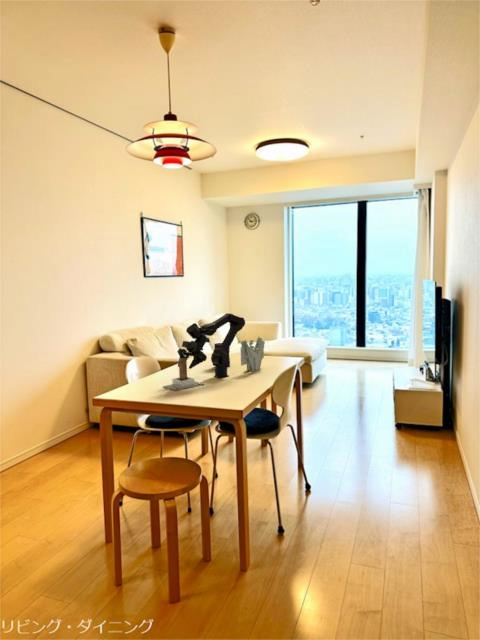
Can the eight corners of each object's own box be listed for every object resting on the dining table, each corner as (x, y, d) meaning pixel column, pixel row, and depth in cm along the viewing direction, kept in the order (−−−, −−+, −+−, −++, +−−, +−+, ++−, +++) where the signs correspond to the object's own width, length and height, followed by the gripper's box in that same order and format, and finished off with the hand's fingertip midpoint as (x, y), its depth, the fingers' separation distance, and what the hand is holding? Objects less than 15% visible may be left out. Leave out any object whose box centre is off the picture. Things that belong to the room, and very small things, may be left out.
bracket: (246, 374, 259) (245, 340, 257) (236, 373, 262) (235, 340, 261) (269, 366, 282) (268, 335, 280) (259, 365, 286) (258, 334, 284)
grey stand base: (191, 381, 246) (190, 374, 246) (203, 384, 237) (203, 377, 236) (163, 387, 234) (162, 379, 234) (175, 391, 225) (174, 383, 225)
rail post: (184, 383, 238) (183, 358, 237) (189, 384, 236) (187, 358, 234) (178, 385, 235) (177, 359, 234) (183, 386, 233) (182, 359, 231)
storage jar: (212, 368, 282) (211, 344, 281) (217, 365, 292) (217, 342, 290) (227, 368, 280) (226, 345, 278) (232, 365, 289) (231, 342, 288)
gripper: (179, 334, 244) (163, 356, 237) (201, 336, 231) (186, 360, 224) (190, 346, 250) (176, 368, 243) (213, 348, 238) (198, 372, 231)
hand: (183, 367), depth 235 cm, fingers open, 9 cm apart
